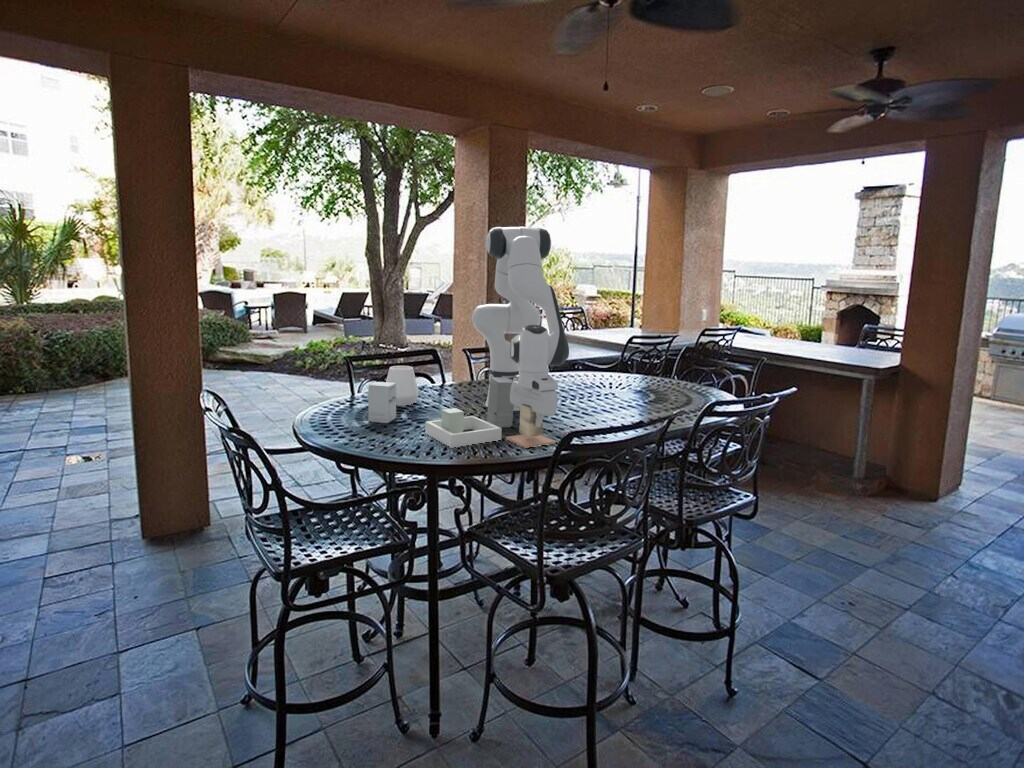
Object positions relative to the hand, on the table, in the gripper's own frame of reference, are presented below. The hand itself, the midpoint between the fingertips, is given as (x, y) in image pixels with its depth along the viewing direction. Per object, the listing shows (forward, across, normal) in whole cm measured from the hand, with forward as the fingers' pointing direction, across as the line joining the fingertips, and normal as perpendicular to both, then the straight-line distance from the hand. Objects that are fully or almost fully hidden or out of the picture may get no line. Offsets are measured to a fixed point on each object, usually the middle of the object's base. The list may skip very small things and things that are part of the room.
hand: (531, 424), depth 191 cm
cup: (+6, -66, -14) cm, 68 cm away
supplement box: (+6, -45, -30) cm, 54 cm away
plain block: (+6, -14, -20) cm, 25 cm away
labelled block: (+3, 0, 0) cm, 3 cm away
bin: (+6, -14, -16) cm, 22 cm away
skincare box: (+6, -22, +3) cm, 23 cm away
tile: (+6, 0, 0) cm, 6 cm away
